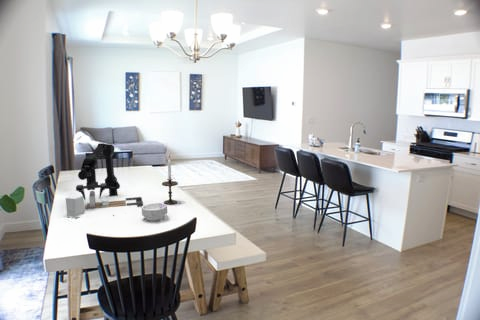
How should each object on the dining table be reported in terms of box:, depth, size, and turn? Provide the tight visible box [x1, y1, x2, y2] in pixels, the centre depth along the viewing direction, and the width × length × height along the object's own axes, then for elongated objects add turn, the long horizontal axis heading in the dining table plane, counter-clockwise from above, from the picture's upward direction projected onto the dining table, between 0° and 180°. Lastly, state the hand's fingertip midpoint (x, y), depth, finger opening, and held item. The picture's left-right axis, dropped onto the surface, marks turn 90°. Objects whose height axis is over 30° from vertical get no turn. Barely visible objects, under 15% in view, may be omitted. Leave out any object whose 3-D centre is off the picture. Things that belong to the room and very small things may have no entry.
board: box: [85, 199, 127, 210], centre depth 245 cm, size 14×25×2 cm, turn 109°
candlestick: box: [161, 154, 179, 206], centre depth 252 cm, size 11×11×35 cm
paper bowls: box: [141, 202, 168, 222], centre depth 221 cm, size 15×15×8 cm
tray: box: [125, 196, 144, 208], centre depth 251 cm, size 14×11×3 cm
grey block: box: [88, 190, 97, 209], centre depth 242 cm, size 10×3×9 cm, turn 19°
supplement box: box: [65, 194, 86, 220], centre depth 224 cm, size 7×7×13 cm
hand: (92, 199), depth 242 cm, fingers open, 9 cm apart
